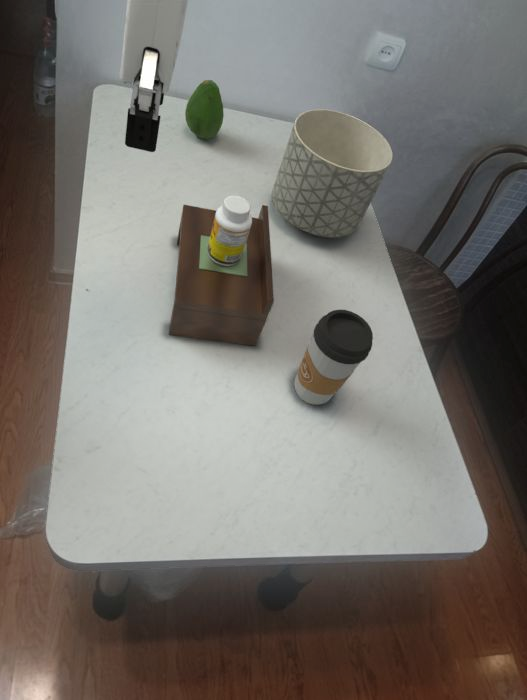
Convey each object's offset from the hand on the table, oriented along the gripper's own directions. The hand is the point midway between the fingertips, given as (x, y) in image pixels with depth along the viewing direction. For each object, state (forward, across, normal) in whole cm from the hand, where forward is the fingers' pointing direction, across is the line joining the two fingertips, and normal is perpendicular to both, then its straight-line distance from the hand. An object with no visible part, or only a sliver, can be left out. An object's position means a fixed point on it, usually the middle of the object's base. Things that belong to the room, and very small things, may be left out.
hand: (144, 123), depth 60 cm
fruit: (+31, -53, +10) cm, 63 cm away
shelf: (+32, -7, +14) cm, 35 cm away
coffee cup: (+32, +11, +30) cm, 45 cm away
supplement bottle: (+24, -7, +14) cm, 28 cm away
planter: (+31, -32, +34) cm, 56 cm away
